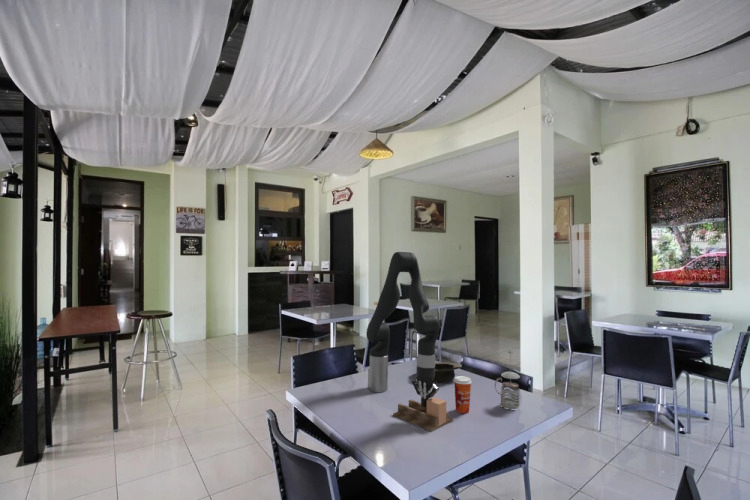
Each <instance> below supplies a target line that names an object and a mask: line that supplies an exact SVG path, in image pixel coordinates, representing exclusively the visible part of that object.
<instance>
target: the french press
mask: <svg viewBox="0 0 750 500" xmlns="http://www.w3.org/2000/svg"><path fill="white" fill-rule="evenodd" d="M507 353H508V354H509V371H504V372H502V373H501V374H500V375H501V377H497V378H496V379H495V382H494V389H495V391H496V393H497V394H499V395H500V403H499V404H500V406H502V407H504V408H508V409H517V408H520V406H521V405H520V397H521V396H520V389H521V388H519V384H518V383H516V382H512V380H519V379H520V377H521V376H520V375H519V374H518V373H516V372H513V371H511V370H512V369H511V367H512V366H511V362H512V361H511V360H512V359H511V356H512V355H511V354H513V350H510V349H509V350H508V352H507ZM502 378H504V379H509V381H504V382H503V379H502ZM498 381H501V382H502V384H501V385H502V386H501V392H500V391H498V390H497V387H496V386H497V383H498ZM500 406H499V407H500Z"/></svg>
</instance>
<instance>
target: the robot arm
mask: <svg viewBox="0 0 750 500" xmlns="http://www.w3.org/2000/svg"><path fill="white" fill-rule="evenodd" d="M401 273H408V274H409V276H410V279H411V280H410V286H409V288H408V289H409V290H408V298H409V299H408V300H409V302H410V305H411V308H412V313H413V314H412V315H413V328H414V329H415V331H416V332H417V333H419V334H423V335H424V334H426V335H425V336H424V337H422V338H420V339H418V341H417V356H416V378H415V379H414V380H412V381H411V383H412V385H413V387H414V390H415V391H416V394H417V395H419V397H420V403H421V405H422V407H427V400H429V399H431V398H434V396H435V395H436V394H437V393H438V392H439V390H440V387H439V386H437V385H436V384H435V381H434V377H435V362H436V343H437V339H438V335H439V332H440V327H441V322H440V319H439V318H438V316H436V315H424V314H425V313H426V312H428V311H429V309H430V305H429V302H428V299H427V296H426V294H425V291H424V287H423V283H422V278H421V271H420V268H419V263H418V258H417V256H416V255H415V253H413V252H407V251H396V252H394V253H393V254H392V255H391V258H390V262H389V266H388V270H387V274H386V278H385V281H384V284H383V288H382V290H381V292H380V295H379V298H378V302H377V305H376V307H375V310H374V312H373V314H372V317H371V318H370V321H369V323H368V325H367V328H366V338H367V340H368V341H369V343H370V342H371V343H377V344H375V346H373V347H371V348H370V349H369V368H368V370H367V373H368V374H367V389H369V391H371V392H374V393H384V392H386V391H388V387H389V386H388V385H389V384H388V383H389V381H388V379H389V376H388V375H389V351H390V340H391V337H390V336H391V332H390V331H391V330H390V326H389V324H388V323H387V322H384V321H385V320H386V319H387V318H388V317H389V316H391V314H392V313H394V311H395V310H396V309H397V307H398V305H399V302H400V299H401V292H400V289H399V285H398V277H399V275H400V274H401Z"/></svg>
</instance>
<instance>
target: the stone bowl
mask: <svg viewBox="0 0 750 500" xmlns="http://www.w3.org/2000/svg"><path fill="white" fill-rule="evenodd" d="M462 367H463V366H462V365H459V364H456V363H452V362H445V361H444V362H438V361H437V362H436V361H435V377H434V381H435V382H436V383H437V384H439V383H444V382H445V383H446V382H447V383H448V382H449V381H450V380H454V379H455V377H456V374H455V373H456V372H455V370H459V369H460V368H462Z"/></svg>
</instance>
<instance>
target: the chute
mask: <svg viewBox="0 0 750 500" xmlns="http://www.w3.org/2000/svg"><path fill="white" fill-rule="evenodd" d="M392 414H393V415H392V416H393V417H396V418H398V419H400V420H402V421H405V422H408V423H410V424H413V425H415V426H417V427H420V428H422V429H424V430H426V431H429V432H434V431H436V430H437V429H440V428H442V427H444V426H445V425H448V424H450V423H452V422H453V420H454V419H453V418H451V417H449V412H447V411H446V422H444V423H442V424H440V425H438V418H437V417H434V416H431V415H429V414H427V407H422V405H421V402H419V401H416V400H414V399H408V406H407V405H405V404H402V403H398V404H397V411H396V412H394V413H392Z"/></svg>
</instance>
